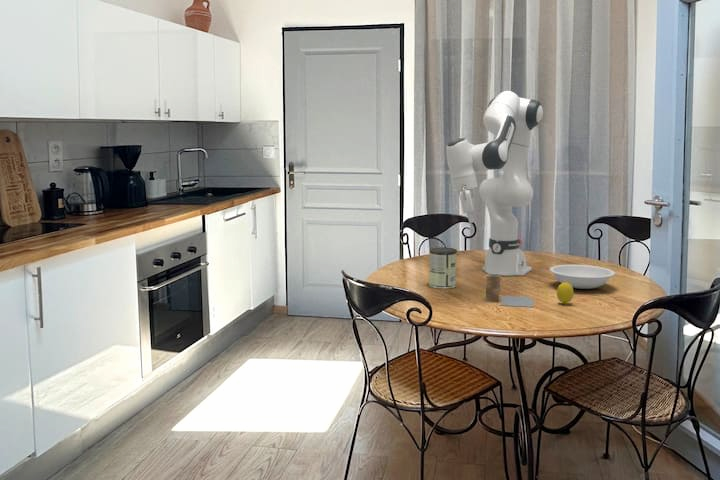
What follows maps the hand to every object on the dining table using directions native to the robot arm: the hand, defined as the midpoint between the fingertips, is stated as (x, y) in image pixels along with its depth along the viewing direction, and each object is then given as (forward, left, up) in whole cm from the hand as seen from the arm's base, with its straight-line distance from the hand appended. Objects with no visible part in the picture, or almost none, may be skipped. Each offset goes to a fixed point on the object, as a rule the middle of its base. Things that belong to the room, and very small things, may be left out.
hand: (471, 222), depth 270 cm
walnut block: (+2, +10, -27) cm, 29 cm away
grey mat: (-2, +18, -27) cm, 32 cm away
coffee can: (-6, -16, -27) cm, 32 cm away
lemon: (-9, +32, -27) cm, 43 cm away
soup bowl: (-38, +26, -27) cm, 54 cm away
